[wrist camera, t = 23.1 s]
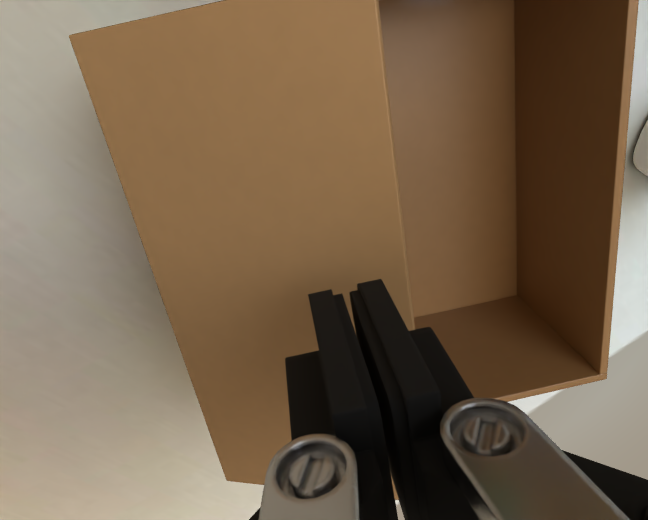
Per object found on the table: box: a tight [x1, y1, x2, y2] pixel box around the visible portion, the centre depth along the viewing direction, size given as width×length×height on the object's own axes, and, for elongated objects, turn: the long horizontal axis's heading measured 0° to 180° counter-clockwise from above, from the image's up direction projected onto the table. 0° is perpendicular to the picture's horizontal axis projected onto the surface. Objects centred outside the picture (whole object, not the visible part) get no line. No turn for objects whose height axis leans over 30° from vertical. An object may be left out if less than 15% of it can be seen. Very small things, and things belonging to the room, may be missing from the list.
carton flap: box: [69, 0, 415, 500], centre depth 13 cm, size 7×14×1 cm, turn 9°
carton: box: [378, 0, 639, 402], centre depth 18 cm, size 15×15×7 cm
